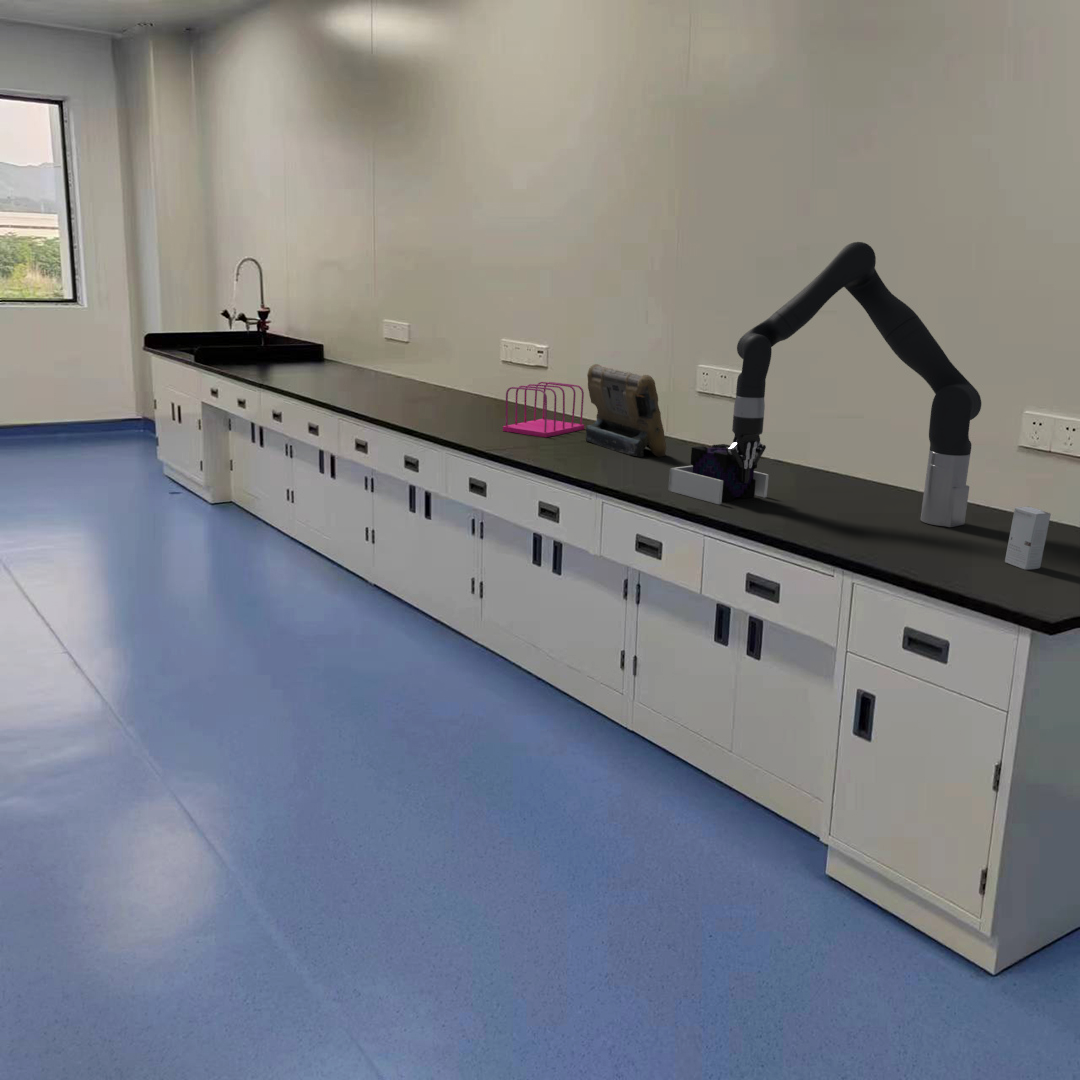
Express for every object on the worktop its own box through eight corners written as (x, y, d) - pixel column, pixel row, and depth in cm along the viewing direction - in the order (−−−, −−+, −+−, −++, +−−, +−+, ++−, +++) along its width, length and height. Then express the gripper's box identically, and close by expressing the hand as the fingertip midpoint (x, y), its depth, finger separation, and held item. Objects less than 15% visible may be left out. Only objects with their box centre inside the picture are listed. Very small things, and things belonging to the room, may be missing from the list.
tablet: (674, 455, 344) (680, 374, 337) (640, 459, 336) (645, 375, 329) (609, 438, 369) (613, 362, 363) (575, 441, 362) (579, 363, 355)
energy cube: (722, 501, 282) (726, 454, 279) (688, 492, 291) (691, 447, 288) (754, 496, 289) (758, 451, 286) (720, 488, 299) (723, 443, 296)
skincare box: (1003, 562, 236) (1012, 506, 233) (1019, 561, 238) (1028, 505, 235) (1026, 570, 231) (1035, 513, 228) (1042, 568, 233) (1051, 512, 230)
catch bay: (766, 497, 290) (768, 474, 289) (718, 504, 279) (720, 481, 278) (715, 484, 304) (717, 462, 302) (668, 490, 293) (669, 468, 291)
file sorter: (502, 431, 375) (503, 385, 371) (542, 423, 395) (544, 379, 391) (545, 438, 366) (547, 390, 362) (584, 429, 386) (587, 384, 382)
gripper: (742, 418, 272) (736, 487, 277) (777, 414, 280) (771, 482, 285) (719, 414, 278) (714, 482, 282) (754, 411, 286) (749, 477, 290)
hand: (743, 482), depth 283 cm, fingers closed
